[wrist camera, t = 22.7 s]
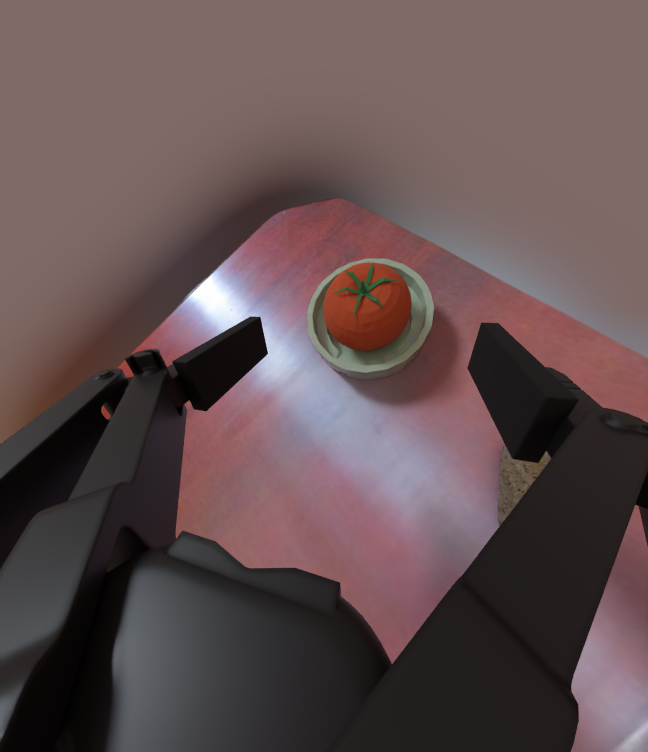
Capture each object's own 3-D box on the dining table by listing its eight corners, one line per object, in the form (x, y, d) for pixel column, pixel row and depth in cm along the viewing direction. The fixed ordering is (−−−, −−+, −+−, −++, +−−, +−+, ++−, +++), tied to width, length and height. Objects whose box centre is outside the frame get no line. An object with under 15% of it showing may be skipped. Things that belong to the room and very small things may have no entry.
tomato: (414, 353, 30) (430, 315, 20) (336, 367, 32) (317, 338, 22) (398, 285, 32) (406, 224, 23) (327, 302, 34) (307, 252, 25)
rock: (488, 542, 24) (511, 566, 20) (487, 433, 26) (507, 433, 22) (580, 563, 22) (627, 594, 18) (570, 443, 24) (610, 445, 20)
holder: (452, 323, 30) (464, 305, 26) (367, 403, 30) (364, 399, 26) (368, 262, 35) (367, 238, 31) (296, 331, 35) (284, 317, 31)
